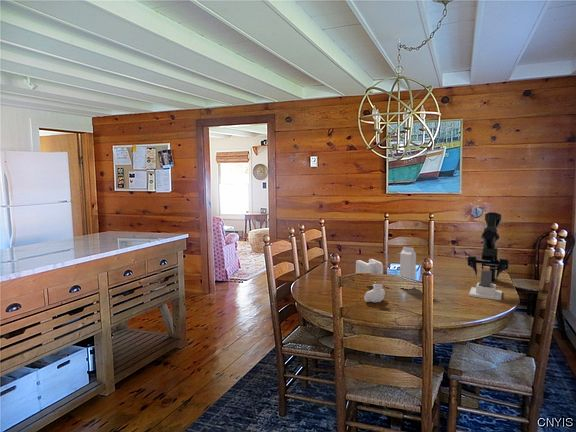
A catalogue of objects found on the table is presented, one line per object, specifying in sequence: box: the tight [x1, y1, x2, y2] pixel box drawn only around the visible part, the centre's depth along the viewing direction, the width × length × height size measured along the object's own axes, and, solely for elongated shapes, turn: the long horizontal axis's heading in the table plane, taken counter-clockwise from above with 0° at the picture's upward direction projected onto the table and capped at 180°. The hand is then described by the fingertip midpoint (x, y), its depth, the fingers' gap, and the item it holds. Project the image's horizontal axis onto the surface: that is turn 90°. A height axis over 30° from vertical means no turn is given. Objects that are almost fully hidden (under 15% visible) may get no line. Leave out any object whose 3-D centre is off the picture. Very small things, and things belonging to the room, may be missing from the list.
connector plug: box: [480, 266, 492, 287], centre depth 204 cm, size 4×4×13 cm
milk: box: [399, 246, 417, 281], centre depth 216 cm, size 6×6×22 cm
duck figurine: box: [364, 284, 386, 303], centre depth 194 cm, size 12×8×11 cm
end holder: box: [468, 282, 503, 301], centre depth 205 cm, size 14×14×5 cm
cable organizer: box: [355, 258, 384, 275], centre depth 231 cm, size 15×11×12 cm
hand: (486, 276), depth 204 cm, fingers open, 9 cm apart
